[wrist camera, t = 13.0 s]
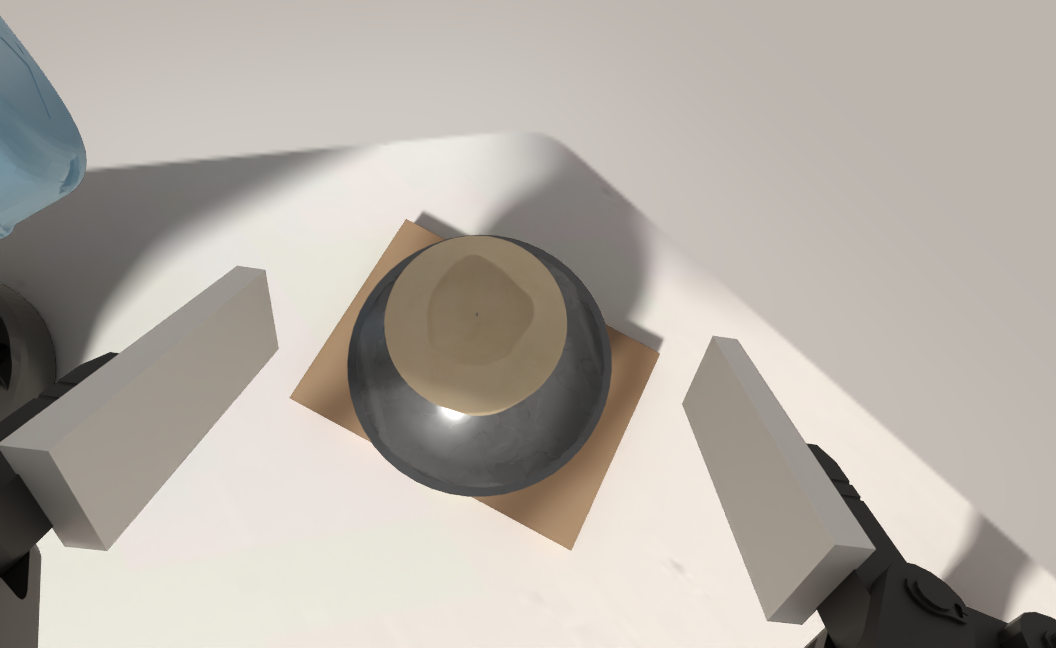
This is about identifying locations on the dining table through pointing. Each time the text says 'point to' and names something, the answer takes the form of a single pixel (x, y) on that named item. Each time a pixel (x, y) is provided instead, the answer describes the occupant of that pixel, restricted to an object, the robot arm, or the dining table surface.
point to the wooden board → (539, 507)
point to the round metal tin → (491, 440)
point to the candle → (475, 324)
